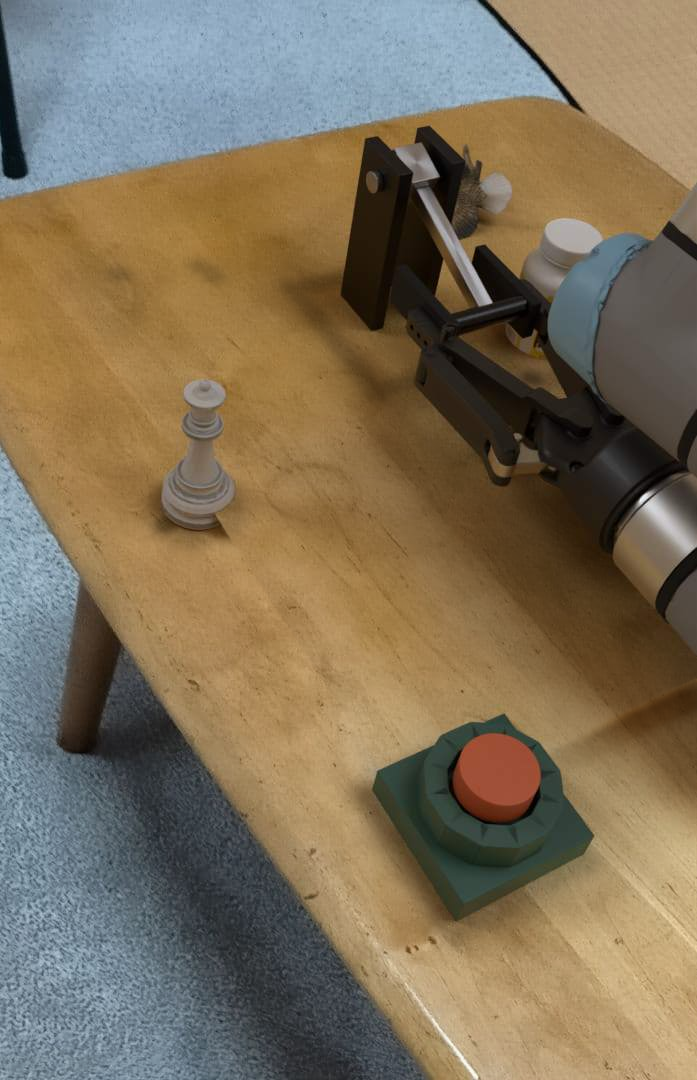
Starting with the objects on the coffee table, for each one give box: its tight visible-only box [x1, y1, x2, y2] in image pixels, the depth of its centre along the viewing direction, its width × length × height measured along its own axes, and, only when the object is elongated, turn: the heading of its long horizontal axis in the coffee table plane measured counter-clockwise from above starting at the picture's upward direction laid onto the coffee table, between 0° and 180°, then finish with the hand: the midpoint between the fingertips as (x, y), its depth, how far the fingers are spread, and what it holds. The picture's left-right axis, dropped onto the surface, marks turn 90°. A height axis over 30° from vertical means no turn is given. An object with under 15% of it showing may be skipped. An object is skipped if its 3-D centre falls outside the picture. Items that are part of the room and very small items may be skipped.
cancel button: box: [453, 733, 541, 823], centre depth 60 cm, size 4×4×2 cm
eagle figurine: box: [451, 144, 514, 241], centre depth 95 cm, size 8×7×9 cm
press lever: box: [391, 142, 528, 337], centre depth 79 cm, size 13×6×2 cm, turn 30°
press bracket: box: [340, 125, 466, 332], centre depth 84 cm, size 12×8×14 cm, turn 30°
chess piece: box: [161, 378, 235, 531], centre depth 71 cm, size 4×4×10 cm
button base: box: [371, 713, 595, 922], centre depth 62 cm, size 8×8×4 cm
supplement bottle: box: [504, 217, 604, 360], centre depth 86 cm, size 5×5×10 cm
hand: (437, 272), depth 81 cm, fingers closed on press lever, 5 cm apart
